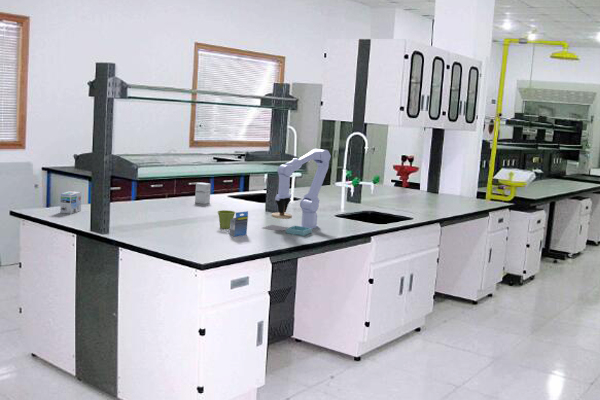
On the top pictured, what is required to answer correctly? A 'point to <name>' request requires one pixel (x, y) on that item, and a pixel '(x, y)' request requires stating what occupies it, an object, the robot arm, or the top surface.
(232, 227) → the label tape box
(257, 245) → the top surface
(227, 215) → the plant pot
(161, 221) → the top surface
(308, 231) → the dish
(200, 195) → the supplement box
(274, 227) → the mat
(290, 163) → the robot arm
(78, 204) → the light bulb box
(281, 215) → the lid
